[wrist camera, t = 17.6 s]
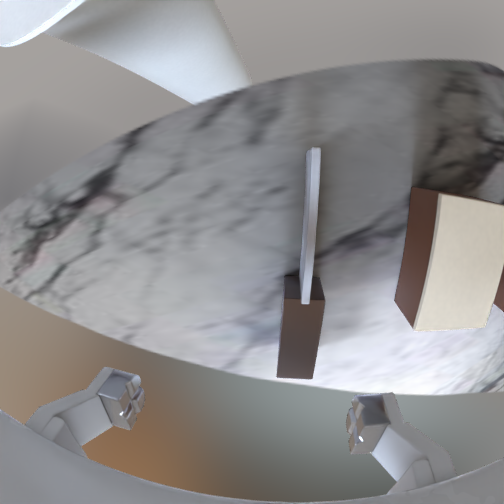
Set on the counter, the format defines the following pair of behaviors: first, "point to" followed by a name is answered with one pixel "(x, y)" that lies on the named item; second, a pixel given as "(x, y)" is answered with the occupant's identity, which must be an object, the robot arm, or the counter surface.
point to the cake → (450, 260)
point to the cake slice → (500, 293)
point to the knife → (303, 291)
